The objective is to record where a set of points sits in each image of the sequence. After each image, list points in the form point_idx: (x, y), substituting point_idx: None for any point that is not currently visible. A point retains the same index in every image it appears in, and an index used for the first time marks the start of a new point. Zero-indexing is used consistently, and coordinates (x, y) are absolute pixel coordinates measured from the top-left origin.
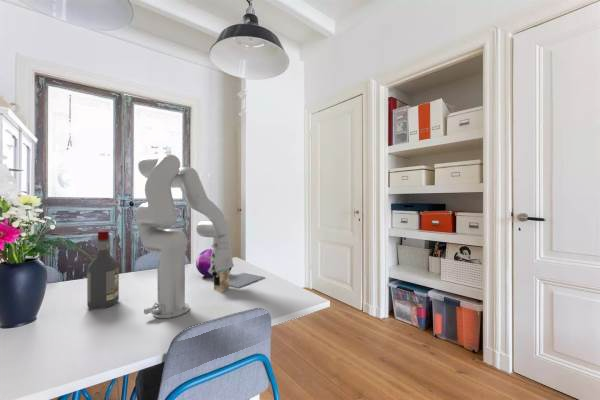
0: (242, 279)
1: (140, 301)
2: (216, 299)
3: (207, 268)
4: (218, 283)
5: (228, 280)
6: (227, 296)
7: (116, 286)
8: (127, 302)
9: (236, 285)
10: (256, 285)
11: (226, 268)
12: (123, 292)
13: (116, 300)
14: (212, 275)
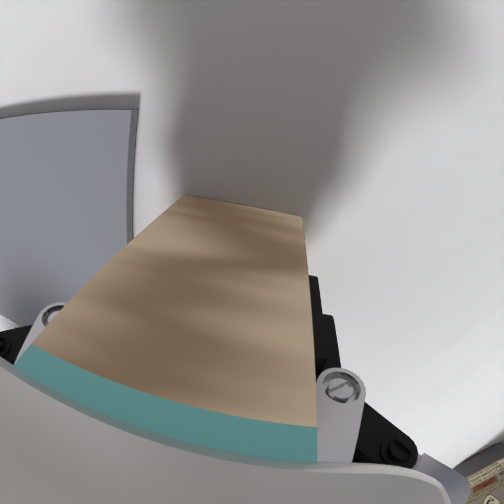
0: (4, 229)
1: (475, 436)
2: (487, 134)
3: None
4: (317, 291)
5: (152, 233)
6: (400, 64)
7: (485, 493)
8: (475, 446)
9: (101, 165)
10: (30, 42)
11: (83, 422)
12: None
13: (477, 460)
14: None
